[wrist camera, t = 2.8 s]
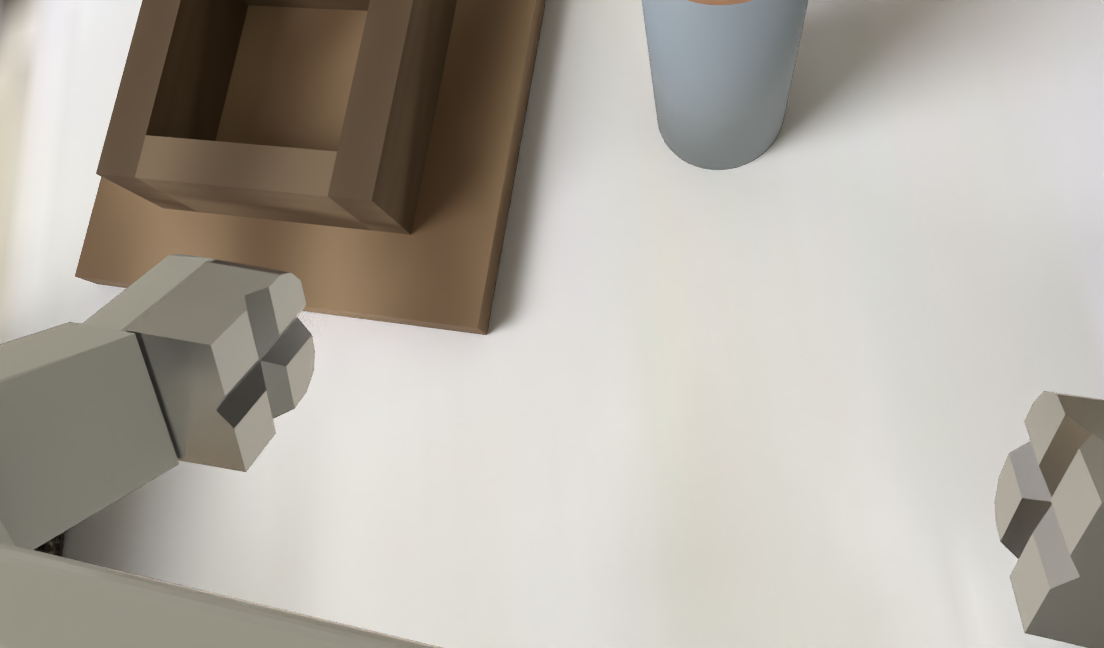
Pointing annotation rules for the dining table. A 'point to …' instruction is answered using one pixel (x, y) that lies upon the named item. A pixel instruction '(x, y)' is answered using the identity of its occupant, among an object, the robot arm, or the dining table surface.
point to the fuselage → (722, 75)
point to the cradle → (322, 149)
